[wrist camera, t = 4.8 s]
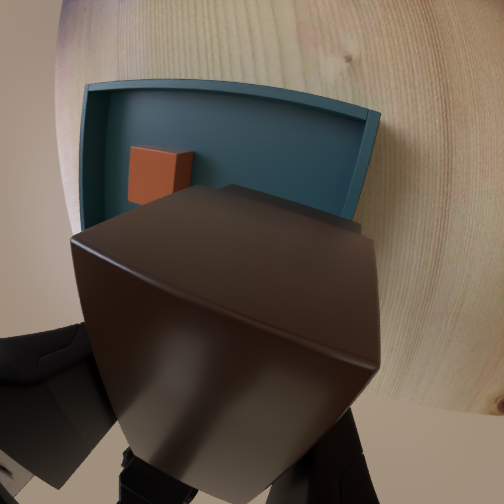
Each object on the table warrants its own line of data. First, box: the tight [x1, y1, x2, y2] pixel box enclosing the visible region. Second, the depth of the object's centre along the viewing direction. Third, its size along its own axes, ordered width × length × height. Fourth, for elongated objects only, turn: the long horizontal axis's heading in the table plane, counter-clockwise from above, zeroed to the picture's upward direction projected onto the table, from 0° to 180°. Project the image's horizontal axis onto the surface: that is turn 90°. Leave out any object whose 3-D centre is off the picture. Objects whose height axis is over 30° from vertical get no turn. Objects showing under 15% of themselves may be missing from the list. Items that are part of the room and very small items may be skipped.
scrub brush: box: [70, 184, 381, 504], centre depth 7 cm, size 4×8×5 cm, turn 168°
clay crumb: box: [128, 144, 194, 205], centre depth 18 cm, size 4×4×2 cm
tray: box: [79, 79, 381, 232], centre depth 17 cm, size 20×13×3 cm, turn 79°
